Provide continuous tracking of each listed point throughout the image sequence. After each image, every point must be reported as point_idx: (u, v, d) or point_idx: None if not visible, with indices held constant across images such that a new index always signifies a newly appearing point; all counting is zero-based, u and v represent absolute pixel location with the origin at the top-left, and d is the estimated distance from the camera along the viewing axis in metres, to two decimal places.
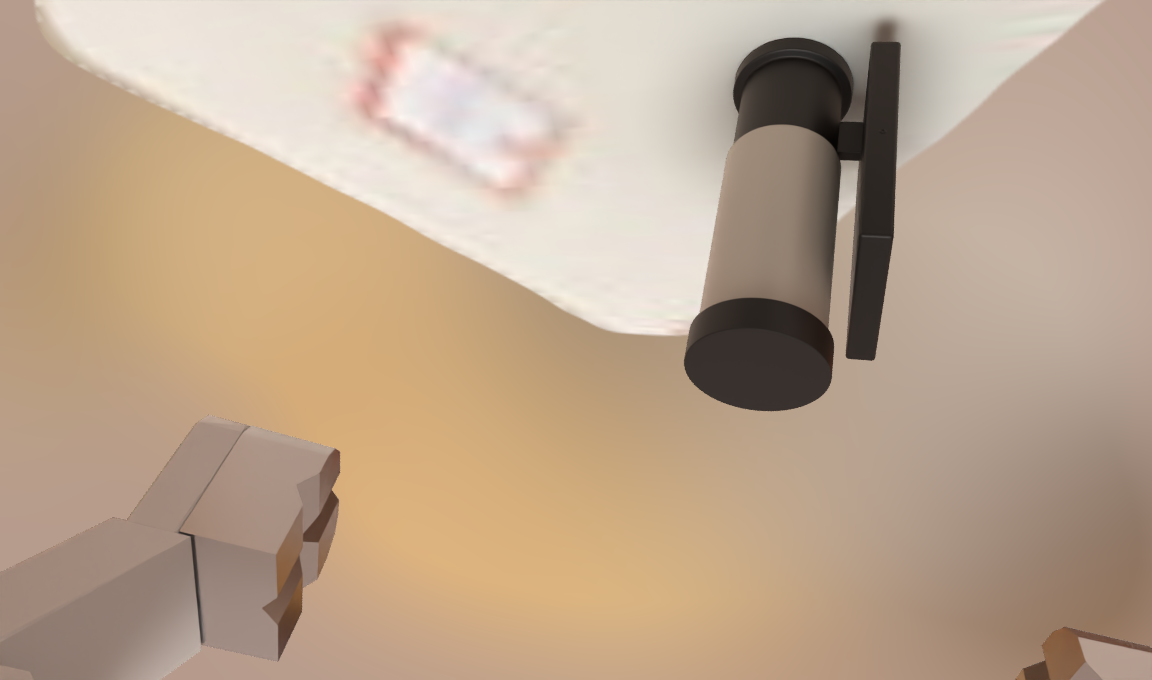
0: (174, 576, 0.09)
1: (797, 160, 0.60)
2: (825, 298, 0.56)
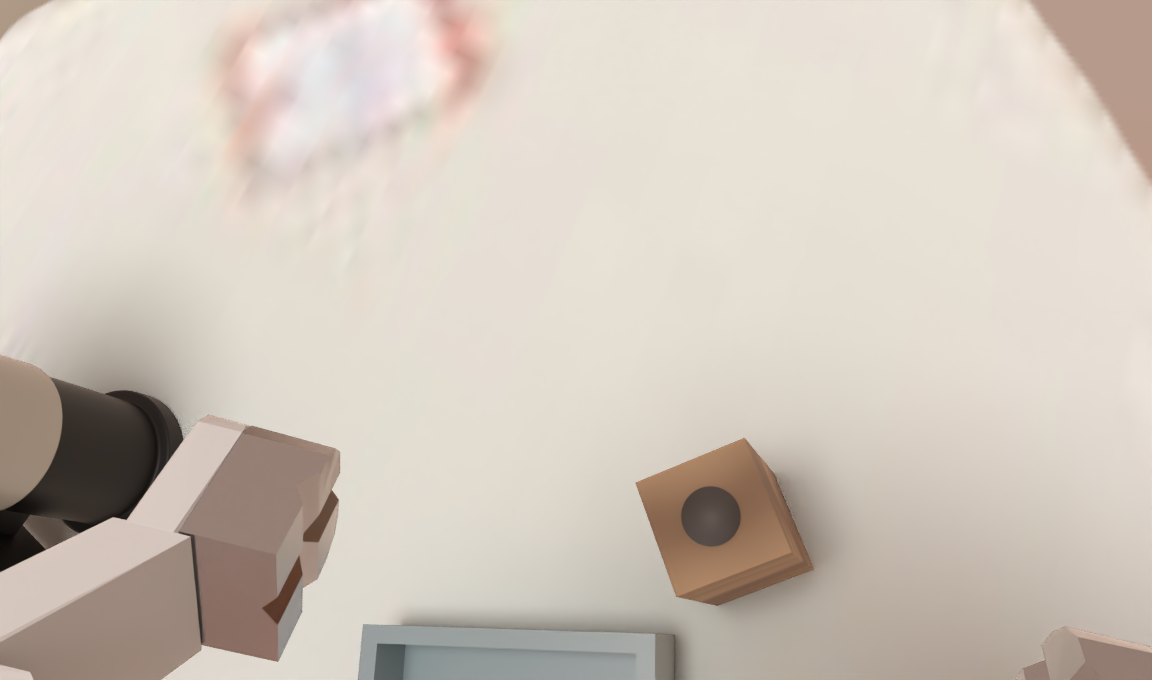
0: (174, 576, 0.09)
1: None
2: None
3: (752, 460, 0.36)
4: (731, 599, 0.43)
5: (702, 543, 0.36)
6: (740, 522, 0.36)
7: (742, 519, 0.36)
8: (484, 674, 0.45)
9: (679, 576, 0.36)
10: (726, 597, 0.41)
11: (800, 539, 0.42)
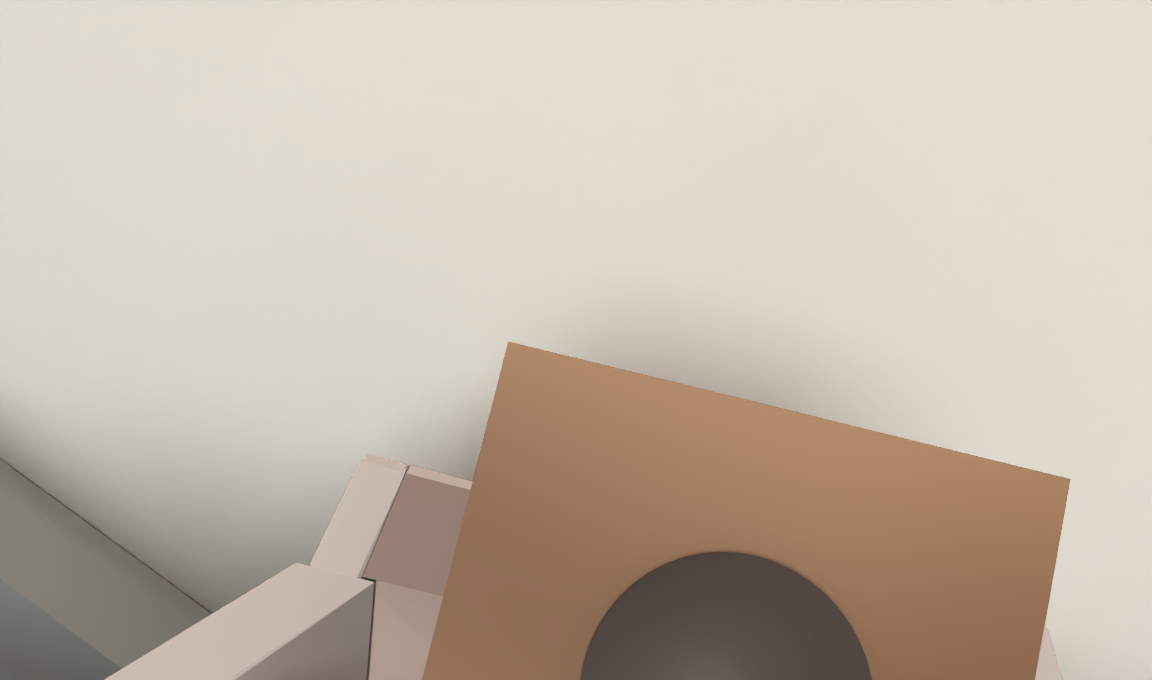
0: (356, 622, 0.09)
1: None
2: None
3: (1045, 594, 0.07)
4: None
5: None
6: None
7: None
8: None
9: None
10: None
11: None
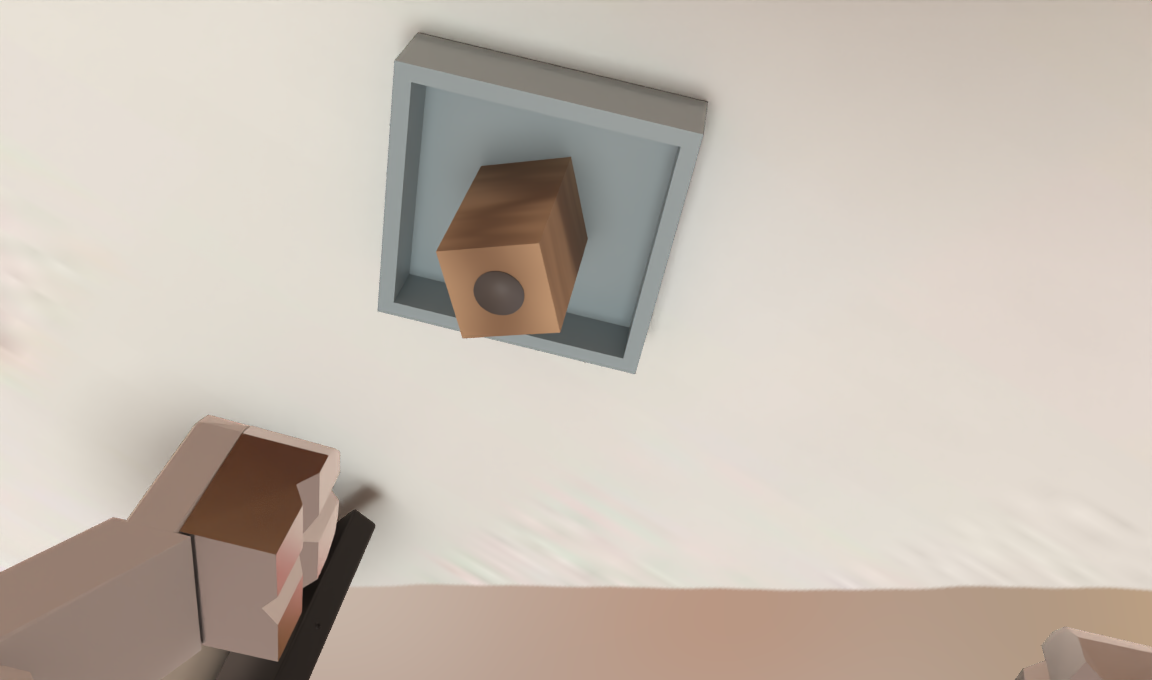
0: (174, 576, 0.09)
1: None
2: None
3: (456, 250, 0.41)
4: (584, 229, 0.48)
5: (520, 304, 0.42)
6: (507, 272, 0.41)
7: (505, 271, 0.41)
8: (438, 212, 0.49)
9: (544, 326, 0.42)
10: (579, 243, 0.47)
11: (542, 164, 0.46)
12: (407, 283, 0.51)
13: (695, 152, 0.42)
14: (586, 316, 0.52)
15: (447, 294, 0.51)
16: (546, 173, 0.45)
